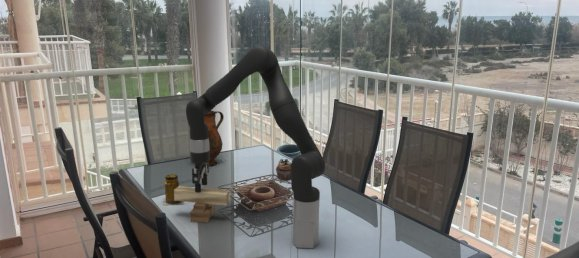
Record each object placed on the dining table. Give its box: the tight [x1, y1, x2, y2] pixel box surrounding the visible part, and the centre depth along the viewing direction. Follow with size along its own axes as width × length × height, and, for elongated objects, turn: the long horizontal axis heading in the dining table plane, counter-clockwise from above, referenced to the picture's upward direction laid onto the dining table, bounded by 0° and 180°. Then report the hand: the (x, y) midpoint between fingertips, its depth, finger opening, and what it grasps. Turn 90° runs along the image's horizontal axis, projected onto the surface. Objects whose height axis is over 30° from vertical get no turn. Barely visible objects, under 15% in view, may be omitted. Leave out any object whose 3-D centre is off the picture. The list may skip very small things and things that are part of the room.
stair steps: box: [189, 202, 215, 224], centre depth 174 cm, size 10×7×7 cm
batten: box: [174, 185, 231, 206], centre depth 173 cm, size 4×22×4 cm, turn 78°
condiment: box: [163, 173, 185, 206], centre depth 189 cm, size 7×8×12 cm
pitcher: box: [204, 110, 224, 167], centre depth 241 cm, size 17×21×30 cm
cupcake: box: [275, 158, 292, 182], centre depth 220 cm, size 10×10×10 cm
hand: (201, 188), depth 172 cm, fingers open, 8 cm apart
